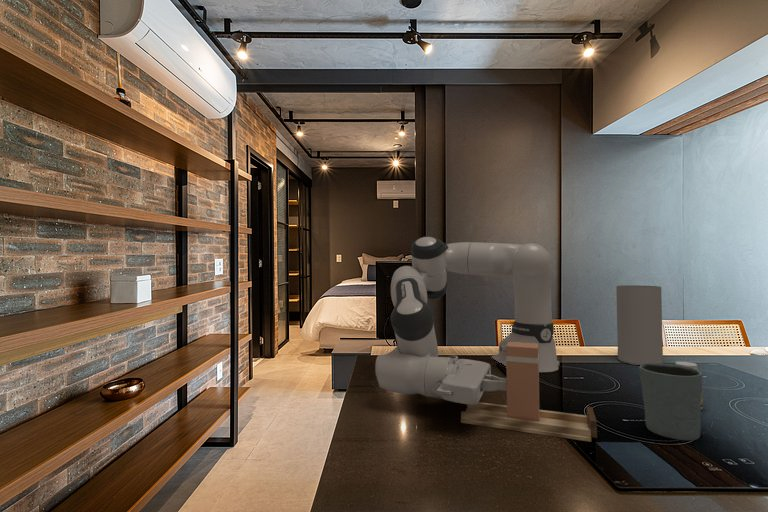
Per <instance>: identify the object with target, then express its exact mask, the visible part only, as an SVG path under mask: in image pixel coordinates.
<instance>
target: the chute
mask: <svg viewBox="0 0 768 512" xmlns="http://www.w3.org/2000/svg"><path fill="white" fill-rule="evenodd" d="M466 406H467V407H466V409H465V411H464V410H462V411H461V412H460V417H461V418H460V423H461V424H468V425H469V424H470V425H475V426H481V427H488V428H495V429H503V430H510V431H515V432H523V433H528V434H536V435H541V436H542V435H543V436H549V437H554V438H555V437H557V438H563V439H570V440H575V441H576V440H577V441H582V442H583V441H584V442H589V443H590V442H592V438H593V439H597V438H598V421H597V418H596V416H595V412H594V408H593V407H592V406H586V415H584V414H579V413H578V414H577V413H569V412H561V411H554V410H547V409H546V410H545V409H544V410H543V409H539V422H538V421H531V420H524V419H516V418H509V417H507V404H499V403H498V404H497V403H488V402H481V401H479V402H478V404H475V405H468V404H466Z"/></svg>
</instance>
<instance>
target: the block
mask: <svg viewBox="0 0 768 512" xmlns="http://www.w3.org/2000/svg"><path fill="white" fill-rule="evenodd" d="M505 368H506V378H507V390H506V406H507V417H509V418H516V419H524V420H531V421H538V422H539V410H540V372H539V353H538V344H537V343H521V342H508V343H507V345H506V367H505Z"/></svg>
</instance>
